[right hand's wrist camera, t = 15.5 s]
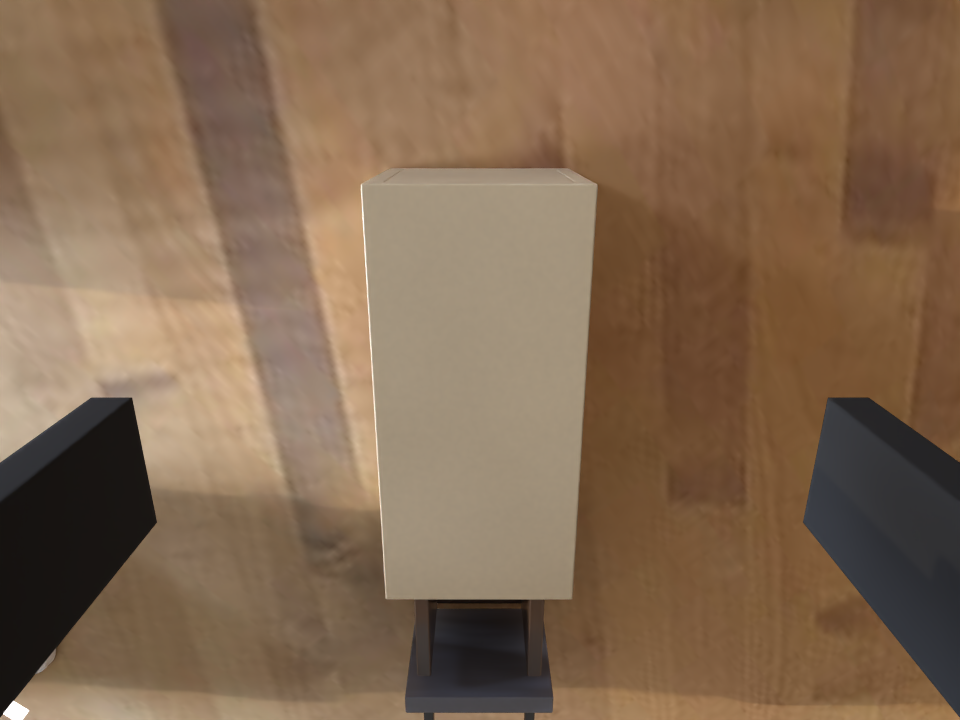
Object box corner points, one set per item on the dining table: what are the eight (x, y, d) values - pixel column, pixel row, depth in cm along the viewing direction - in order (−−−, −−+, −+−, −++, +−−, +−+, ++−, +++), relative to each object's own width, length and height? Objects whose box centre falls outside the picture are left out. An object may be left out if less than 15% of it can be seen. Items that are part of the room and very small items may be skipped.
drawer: (538, 688, 47) (548, 785, 40) (419, 687, 47) (409, 785, 40) (553, 348, 38) (569, 399, 31) (405, 348, 38) (389, 399, 31)
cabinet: (554, 503, 43) (572, 600, 34) (404, 503, 43) (385, 600, 34) (569, 168, 35) (598, 184, 27) (389, 168, 35) (360, 183, 27)
